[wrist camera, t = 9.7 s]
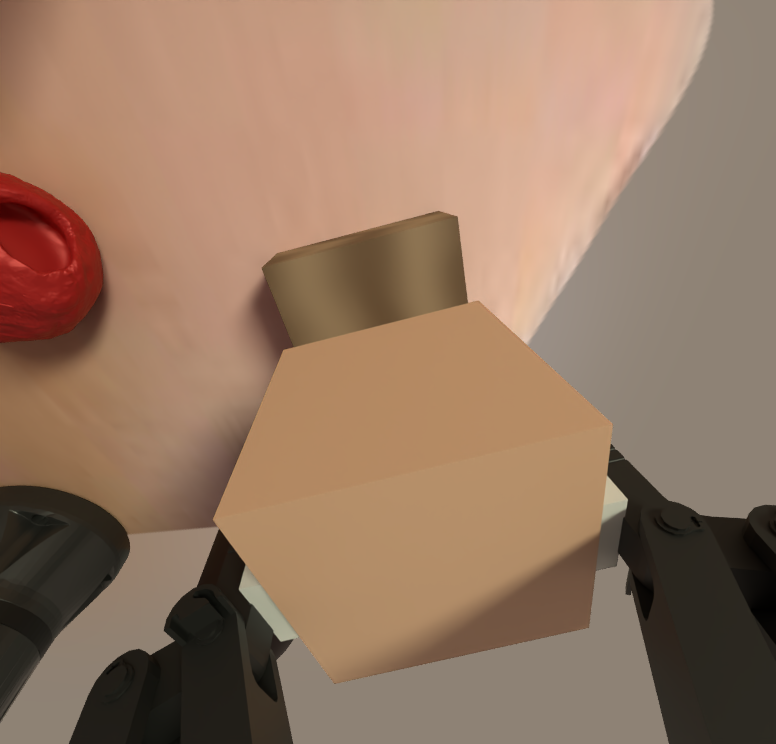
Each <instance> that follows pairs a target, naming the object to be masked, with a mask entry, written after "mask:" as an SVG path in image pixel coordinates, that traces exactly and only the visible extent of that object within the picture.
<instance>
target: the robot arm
mask: <svg viewBox="0 0 776 744" xmlns="http://www.w3.org/2000/svg"><path fill="white" fill-rule="evenodd" d="M129 552H130V542H129V539H128V536H127V534H126V532H125V530H124V528H123V527H122V526H121V525H120V523H119V522H118V521H117V520H116V519H115V518H114V517H112V516H111V515H110V514H109V513H107V512H106V511H105V510H103V509H102V508H100V507H98V506H97V505H95V504H93V503H91V502H89V501H87V500H85V499H82V498H80V497H77V496H75V495H72V494H69V493H66V492H62V491H58V490H54V489H49V488H43V487H34V486H6V487H0V723H1V720H2V719H3V718H4V716H5V715H6V713H7V712H8V710H9V708H10V707H11V705H12V704H13V702H14V701H15V699H16V698H17V696H18V695H19V693H20V691H21V690H22V688H23V687H24V685H25V684H26V682H27V681H28V679H29V678H30V676H31V674H32V673H33V671H34V670H35V668H36V667H37V665H38V663H39V662H40V660H41V659H42V657H43V656H44V654H45V653H46V651H47V650H48V648H49V646H50V645H51V643H52V642H53V641H54V639H55V638H56V637H57V636H58V634H59V633H60V632H61V631H62V630H63V629H64V628H65V627H66V626H67V625H68V624H69V623H70V622H71V621H73V620H74V618H75V617H77V616H78V615H79V614H80V613H81V612H82V611H83V610H84V609H85V608H86V607H87V606H88V605H89V604H90V603H91V602H92V601H93V600H94V599H95V598H96V597H97V596H98V595H99V594H100V593H101V592H102V591H103V590H104V589H105V588H107V587H108V586H109V584H111V583H112V581H113V580H114V579H115V577H116V576H117V574H118V573H119V571H120V569H121V568H122V566H123V564H124V563H125V561H126V559H127V558H128V555H129ZM619 554H620V556H621V557H622V559H623V560H624V561H625V563H626V564H627V565H628V567H629V572H628V577H627V582H626V594H627V595H631V591H632V593H633V597H634V602H635V605H636V610H637V614H638V618H639V622H640V626H641V631H642V635H643V639H644V643H645V647H646V651H647V655H648V659H649V663H650V667H651V671H652V676H653V680H654V683H655V688H656V692H657V696H658V700H659V704H660V708H661V713H662V717H663V721H664V725H665V729H666V733H667V737H668V741H669V744H776V506H775V505H763V506H759V507H755V508H754V509H753V510H752V511H751V512H750V513H749V515H748V517H747V519H741V518H725V517H710V516H703V515H699V514H698V513H696V512H695V511H694V510H692V509H691V508H689V507H686V506H684V505H682V504H679V503H676V502H672V501H668V500H667V499H666V498H664V497H663V496H662V495H661V494H660V493H659V492H658V491H657V490H656V489H655V488H654V487H653V486H652V485H651V484H650V483H649V482H648V481H647V480H646V479H645V478H644V477H643V476H642V475H641V474H640V473H639V472H638V471H637V470H636V469H635V468H634V467H633V466H632V465H631V464H630V463H629V462H628V461H627V460H625V459H624V457H623V455H621V453H619V451H617V450H615V448H614V447H613V445H612V444H611V445H610V453H609V462H608V470H607V479H606V487H605V496H604V504H603V513H602V521H601V530H600V538H599V547H598V555H597V564H596V571H597V570H601V569H606V568H610V567H614V566H617V561H618V555H619ZM164 631H165V632H166V633H167V634H168V635H169V636H170V637H171V638H173V639H174V640H175V641H174V642H173V643H171V644H169V645H168V646H166V647H164V648H162V649H161V650H159V651H157V652H155V653H153V654H152V655H149V654H148V653H146V652H145V651H143V650H140V649H136V650H131V651H128V652H126V653H125V654H123V655H121V656H120V657H118V658H117V659H116V660H115V661H113V662H112V663H111V664H110V665H109V666H108V667H107V668H106V669H105V670H104V671H103V673H102V674H101V675H100V676H99V678H98V679H97V680H96V682H95V684H94V686H93V687H92V689H91V691H90V693H89V695H88V697H87V700H86V702H85V705H84V707H83V710H82V712H81V715H80V718H79V720H78V722H77V725H76V727H75V730H74V732H73V735H72V738H71V740H70V742H69V744H293V741H292V736H291V731H290V726H289V721H288V716H287V711H286V706H285V701H284V696H283V691H282V686H281V681H280V677H279V672H278V667H277V662H276V657H275V655H274V653H273V651H272V650H271V642H272V637H273V633H274V634H275V635H276V636H277V638H278V639H279V640H280V641H286V640H290V639H295V638H299V635H298V634H297V633H296V631H295V630H294V629H293V627H292V626H291V625H290V623H289V622H288V621H287V619H286V618H285V617H284V615H283V614H282V613H281V611H280V610H279V608H278V607H277V606H276V604H275V603H274V602H273V600H272V599H271V598H270V596H269V595H268V594H267V592H266V591H265V590H264V588H263V587H262V586H261V584H260V583H259V582H258V580H257V579H256V577H255V576H254V575H253V573H252V572H251V571H250V569H249V568H248V567H247V565H246V564H245V563H244V561H243V560H242V559H241V557H240V556H239V555H238V553H237V552H236V551H235V549H234V548H233V546H232V545H231V544H230V546H229V549H228V554H227V555H226V557H225V560H224V563H223V566H222V569H221V572H220V575H219V578H218V581H217V584H216V586H215V585H213V584H203V585H200V586H198V587H196V588H193V589H192V590H191V591H189V592H188V593H187V594H185V595H184V596H183V597H182V598H181V599H180V600H179V601H178V602H177V603H176V605H175V606H174V607H173V609H172V610H171V612H170V614H169V616H168V617H167V619H166V624H165V627H164Z"/></svg>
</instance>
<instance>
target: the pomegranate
mask: <svg viewBox="0 0 776 744" xmlns="http://www.w3.org/2000/svg"><path fill="white" fill-rule="evenodd" d="M102 285H103V270H102V263H101V257H100V251H99V249H98V247H97V244H96V241H95V238H94V236H93V234H92V232H91V230H90V229H89V227H88V226H87V225H86V224H85V222H84V221H83V220H82V219H81V218H80V217H79V216H78V215H77V214H76V213H75V212H74V211H73V210H72V209H70V208H69V207H68V206H66V205H65V204H64V203H62V202H61V201H60V200H58V199H56V198H55V197H54V196H52V195H51V194H49V193H47V192H46V191H44V190H42V189H40V188H38V187H36V186H34V185H32V184H29V183H27V182H24V181H22V180H20V179H19V178H17V177H15V176H13V175H10V174H5V173H1V172H0V343H6V342H17V341H32V340H43V339H51V338H54V337H56V336H59V335H63V334H66V333H68V332H70V331H71V330H73V329H74V328H75V327H76V325H77V324H78V323H79V322H80V321H81V320H82V319H83V318H84V317H85V316H86V315H87V313H88V312H89V310H90V309H91V308H92V306H93V304H94V303H95V301H96V300H97V298H98V296H99V294H100V292H101V289H102Z"/></svg>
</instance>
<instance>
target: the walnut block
mask: <svg viewBox="0 0 776 744" xmlns="http://www.w3.org/2000/svg"><path fill="white" fill-rule="evenodd" d="M262 270H263V273H264V275H265V278H266V280H267V283H268V285H269V288H270V290H271V293H272V295H273V297H274V300H275V302H276V305H277V307H278V310H279V312H280V315H281V317H282V320H283V322H284V325H285V327H286V329H287V332H288V334H289V337H290V339H291V342H292V344H293V347H297V346H301V345H305V344H309V343H313V342H317V341H321V340H325V339H329V338H333V337H337V336H341V335H345V334H348V333H352V332H356V331H360V330H364V329H368V328H372V327H376V326H380V325H384V324H388V323H392V322H396V321H400V320H404V319H408V318H412V317H416V316H419V315H423V314H427V313H431V312H435V311H439V310H443V309H447V308H451V307H455V306H459V305H463V304H467V303H468V300H467V292H466V284H465V275H464V267H463V259H462V250H461V242H460V234H459V225H458V217H457V216H453V215H450V214H447V213H443V212H440V211H437V212H433V213H429V214H425V215H422V216H418V217H414V218H410V219H406V220H403V221H399V222H395V223H391V224H387V225H384V226H380V227H376V228H372V229H368V230H365V231H361V232H357V233H353V234H349V235H346V236H342V237H338V238H334V239H330V240H326V241H323V242H319V243H315V244H311V245H307V246H304V247H300V248H296V249H292V250H288V251H285V252H281V253H277V254H276V255H275V256H274V257H273V258H272V259H271V260H270V261H269V262H267V263H266V264H265V265H264V266H263V267H262Z"/></svg>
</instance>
